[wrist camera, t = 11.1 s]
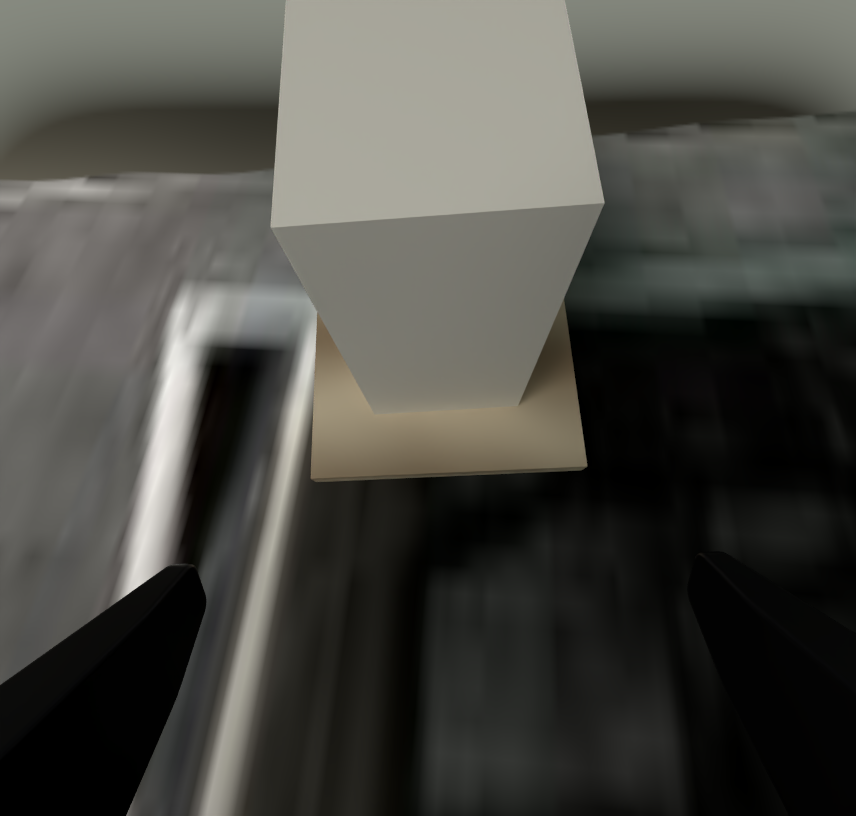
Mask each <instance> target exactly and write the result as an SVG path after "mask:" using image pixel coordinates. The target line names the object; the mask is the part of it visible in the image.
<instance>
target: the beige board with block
mask: <svg viewBox="0 0 856 816" xmlns="http://www.w3.org/2000/svg"><path fill="white" fill-rule="evenodd" d="M586 467H587V460H586V453H585V446H584V438H583V431H582V424H581V417H580V410H579V403H578V396H577V389H576V381H575V374H574V367H573V360H572V353H571V346H570V339H569V331H568V324H567V317H566V310H565V303H564V299H563V302H562V304H561V306H560V309H559V311H558V313H557V316H556V318H555V320H554V323H553V325H552V327H551V330H550V332H549V334H548V337H547V339H546V341H545V344H544V346H543V348H542V351H541V353H540V355H539V358H538V360H537V363H536V365H535V367H534V370H533V372H532V374H531V377H530V379H529V381H528V384H527V386H526V388H525V391H524V393H523V395H522V398H521V400H520V402H519V405H518V406H512V407H495V408H478V409H461V410H444V411H427V412H410V413H393V414H376V415H375V414H374V413H373V411H372V409H371V407H370V405H369V404H368V402H367V400H366V398H365V396H364V395H363V393H362V391H361V389H360V388H359V386H358V384H357V382H356V380H355V379H354V377H353V375H352V373H351V371H350V370H349V368H348V366H347V364H346V362H345V361H344V359H343V357H342V355H341V353H340V352H339V350H338V348H337V346H336V344H335V343H334V341H333V339H332V337H331V335H330V334H329V332H328V330H327V328H326V326H325V325H324V323H323V321H322V319H321V317H320V316H319V314H318V312H317V334H316V359H315V384H314V409H313V433H312V458H311V479H312V480H314V481H316V482H328V481H351V480H373V479H396V478H419V477H441V476H464V475H487V474H510V473H532V472H555V471H578V470H583V469H584V468H586Z"/></svg>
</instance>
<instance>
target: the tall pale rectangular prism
mask: <svg viewBox="0 0 856 816" xmlns="http://www.w3.org/2000/svg"><path fill="white" fill-rule="evenodd" d="M604 203H605V202H604V197H603V192H602V187H601V182H600V177H599V172H598V167H597V161H596V156H595V151H594V146H593V141H592V136H591V132H590V126H589V121H588V116H587V111H586V105H585V101H584V95H583V90H582V85H581V80H580V74H579V70H578V64H577V59H576V54H575V49H574V44H573V39H572V34H571V28H570V23H569V19H568V13H567V8H566V4H565V0H287V1H286V7H285V22H284V37H283V53H282V67H281V82H280V96H279V111H278V127H277V140H276V155H275V170H274V185H273V200H272V214H271V229H272V231H273V233H274V235H275V237H276V238H277V240H278V242H279V244H280V245H281V247H282V249H283V251H284V253H285V254H286V256H287V258H288V260H289V262H290V263H291V265H292V267H293V269H294V271H295V272H296V274H297V276H298V278H299V280H300V281H301V283H302V285H303V287H304V289H305V290H306V292H307V294H308V296H309V298H310V299H311V301H312V303H313V305H314V307H315V308H316V310H317V312H318V314H319V316H320V317H321V319H322V321H323V323H324V325H325V326H326V328H327V330H328V332H329V334H330V335H331V337H332V339H333V341H334V343H335V344H336V346H337V348H338V350H339V352H340V353H341V355H342V357H343V359H344V361H345V362H346V364H347V366H348V368H349V370H350V371H351V373H352V375H353V377H354V379H355V380H356V382H357V384H358V386H359V388H360V389H361V391H362V393H363V395H364V396H365V398H366V400H367V402H368V404H369V405H370V407H371V409H372V411H373V413H374V414H375V415H376V414H393V413H410V412H427V411H444V410H461V409H478V408H495V407H512V406H518V405H519V402H520V400H521V398H522V395H523V393H524V391H525V388H526V386H527V384H528V381H529V379H530V377H531V374H532V372H533V370H534V367H535V365H536V363H537V360H538V358H539V355H540V353H541V351H542V348H543V346H544V344H545V341H546V339H547V337H548V334H549V332H550V330H551V327H552V325H553V323H554V320H555V318H556V316H557V313H558V311H559V309H560V306H561V304H562V302H563V299H564V297H565V295H566V292H567V290H568V288H569V285H570V283H571V281H572V278H573V276H574V274H575V271H576V269H577V267H578V264H579V262H580V259H581V257H582V255H583V252H584V250H585V248H586V245H587V243H588V241H589V238H590V236H591V234H592V231H593V229H594V227H595V224H596V222H597V220H598V217H599V215H600V213H601V210H602V208H603V206H604Z"/></svg>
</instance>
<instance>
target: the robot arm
mask: <svg viewBox="0 0 856 816" xmlns="http://www.w3.org/2000/svg"><path fill="white" fill-rule="evenodd" d="M687 592H688V597H689V601H690V603H691V606H692V608H693V611H694V614H695V616H696V619H697V621H698V624H699V626H700V629H701V631H702V634H703V636H704V639H705V641H706V644H707V646H708V649H709V652H710V654H711V657H712V659H713V662H714V664H715V667H716V669H717V672H718V674H719V676H720V679H721V681H722V684H723V686H724V688H725V690H726V692H727V694H728V696H729V698H730V700H731V702H732V704H733V706H734V708H735V710H736V712H737V714H738V716H739V718H740V720H741V722H742V724H743V726H744V728H745V730H746V732H747V734H748V736H749V738H750V740H751V742H752V744H753V746H754V747H755V749H756V751H757V753H758V755H759V757H760V759H761V761H762V763H763V765H764V767H765V769H766V771H767V773H768V775H769V777H770V779H771V781H772V783H773V785H774V787H775V789H776V791H777V792H778V794H779V796H780V798H781V800H782V802H783V804H784V806H785V808H786V810H787V812H788V814H789V816H856V633H854V632H852V631H851V630H849V629H848V628H846V627H844V626H843V625H841V624H839V623H838V622H836V621H835V620H833V619H831V618H830V617H828V616H827V615H825V614H823V613H822V612H820V611H819V610H817V609H815V608H814V607H812V606H810V605H809V604H807V603H806V602H804V601H802V600H801V599H799V598H798V597H796V596H794V595H793V594H791V593H789V592H788V591H786V590H785V589H783V588H781V587H780V586H778V585H777V584H775V583H773V582H772V581H770V580H768V579H767V578H765V577H764V576H762V575H760V574H759V573H757V572H756V571H754V570H752V569H751V568H749V567H748V566H746V565H744V564H743V563H741V562H739V561H738V560H736V559H735V558H733V557H731V556H730V555H728V554H726V553H724V552H719V551H718V552H700V553H698V554H697V555H696V557H695V560H694V563H693V567H692V571H691V574H690V578H689V582H688V586H687ZM205 609H206V595H205V592H204V589H203V586H202V583H201V580H200V577H199V574H198V571H197V569H196V567H195V566H194V565H191V564H174V565H170V566H168V567H166V568H164V569H163V570H162V571H160V572H159V573H157V574H156V575H155V576H153V577H152V578H150V579H149V580H147V581H146V582H145V583H143V584H142V585H140V586H139V587H138V588H136V589H135V590H133V591H132V592H131V593H129V594H128V595H126V596H125V597H124V598H122V599H121V600H119V601H118V602H116V603H115V604H114V605H112V606H111V607H109V608H108V609H107V610H105V611H104V612H102V613H101V614H100V615H98V616H97V617H95V618H94V619H93V620H91V621H90V622H88V623H87V624H86V625H84V626H83V627H81V628H80V629H78V630H77V631H76V632H74V633H73V634H71V635H70V636H69V637H67V638H66V639H64V640H63V641H62V642H60V643H59V644H57V645H56V646H55V647H53V648H52V649H50V650H49V651H48V652H46V653H45V654H43V655H42V656H40V657H39V658H38V659H36V660H35V661H33V662H32V663H31V664H29V665H28V666H26V667H25V668H24V669H22V670H21V671H19V672H18V673H17V674H15V675H14V676H12V677H11V678H9V679H8V680H7V681H5V682H4V683H2V684H1V685H0V816H126V815H127V812H128V810H129V808H130V805H131V803H132V801H133V798H134V796H135V794H136V791H137V789H138V787H139V784H140V782H141V780H142V777H143V775H144V773H145V770H146V768H147V766H148V764H149V761H150V759H151V757H152V754H153V752H154V750H155V747H156V745H157V743H158V740H159V738H160V736H161V733H162V731H163V729H164V726H165V724H166V722H167V719H168V717H169V715H170V712H171V710H172V708H173V705H174V703H175V700H176V698H177V695H178V692H179V690H180V687H181V684H182V681H183V678H184V675H185V672H186V668H187V665H188V662H189V659H190V656H191V653H192V650H193V647H194V644H195V640H196V637H197V634H198V631H199V628H200V625H201V622H202V619H203V615H204V612H205Z"/></svg>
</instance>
